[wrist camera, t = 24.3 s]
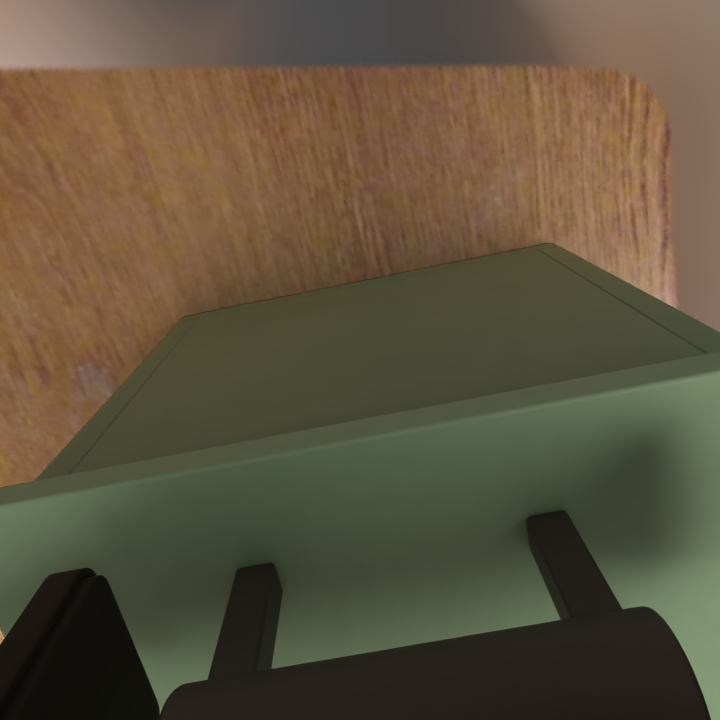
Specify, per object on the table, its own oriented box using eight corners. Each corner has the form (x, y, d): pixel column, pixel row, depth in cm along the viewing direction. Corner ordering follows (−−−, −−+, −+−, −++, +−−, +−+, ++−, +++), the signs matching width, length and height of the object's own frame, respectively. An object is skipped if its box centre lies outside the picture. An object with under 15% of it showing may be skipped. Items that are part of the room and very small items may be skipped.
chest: (183, 316, 25) (-12, 529, 12) (553, 241, 24) (807, 376, 11) (278, 627, 30) (220, 1025, 17) (586, 574, 29) (785, 946, 16)
